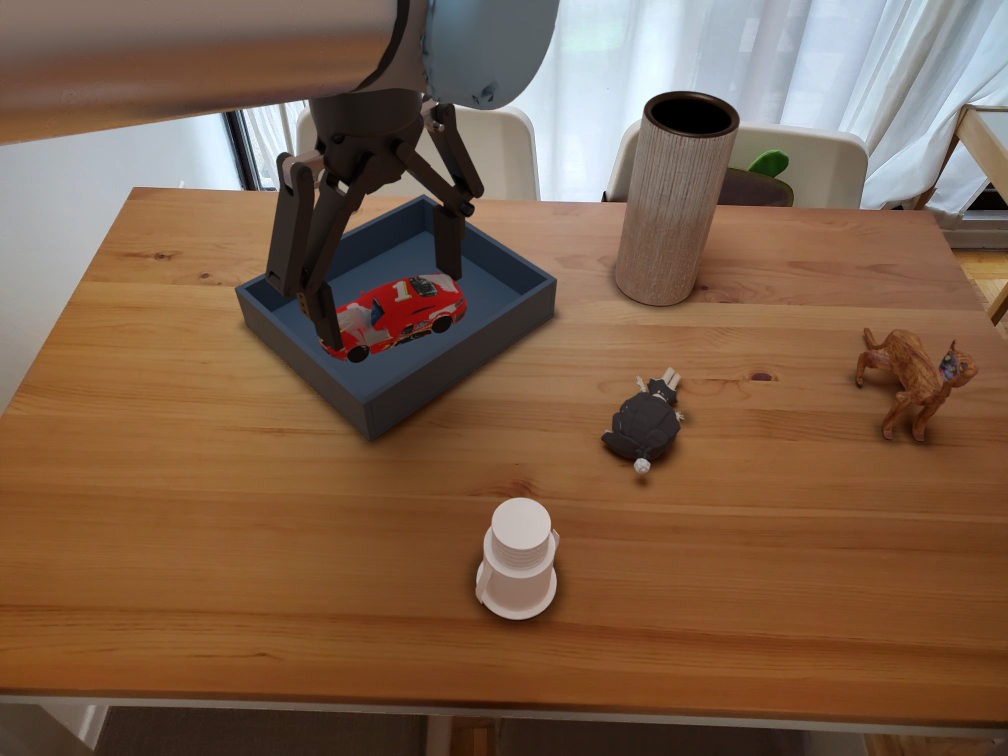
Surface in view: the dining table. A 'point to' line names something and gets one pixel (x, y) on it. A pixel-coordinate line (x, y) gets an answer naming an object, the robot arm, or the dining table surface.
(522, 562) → the downlight
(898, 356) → the cat figurine
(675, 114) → the planter
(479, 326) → the tote
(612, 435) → the figurine
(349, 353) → the race car
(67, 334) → the dining table surface
